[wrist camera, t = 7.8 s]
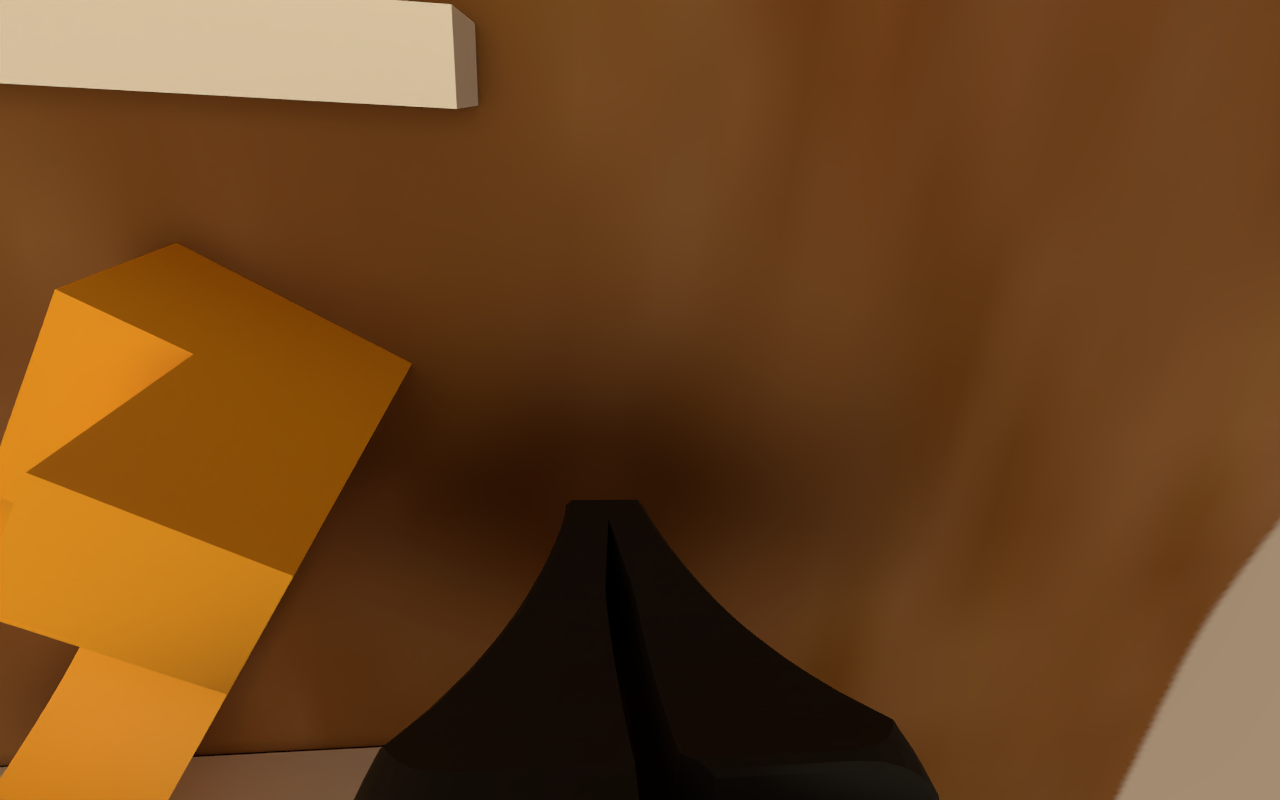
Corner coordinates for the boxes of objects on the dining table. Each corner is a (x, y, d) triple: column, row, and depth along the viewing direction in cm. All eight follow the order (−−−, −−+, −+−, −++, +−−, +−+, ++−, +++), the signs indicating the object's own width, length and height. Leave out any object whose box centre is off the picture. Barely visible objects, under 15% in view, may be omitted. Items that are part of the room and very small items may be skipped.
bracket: (505, 772, 18) (497, 871, 16) (-144, 810, 16) (-261, 928, 14) (474, 23, 11) (451, 4, 8) (-705, -61, 9) (-1141, -115, 7)
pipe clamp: (181, 240, 12) (-198, 386, 6) (413, 360, 13) (293, 575, 7) (-2, 692, 15) (-354, 1064, 9) (195, 750, 17) (-4, 1108, 11)
